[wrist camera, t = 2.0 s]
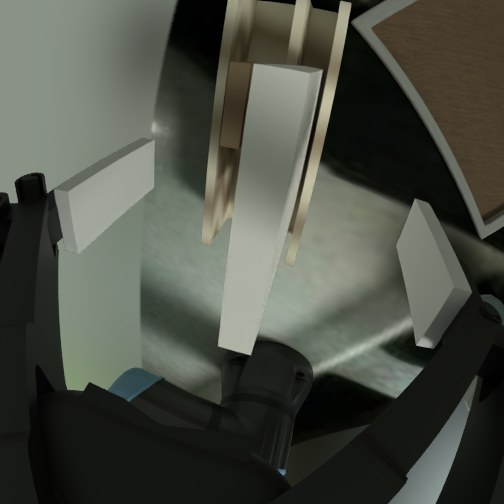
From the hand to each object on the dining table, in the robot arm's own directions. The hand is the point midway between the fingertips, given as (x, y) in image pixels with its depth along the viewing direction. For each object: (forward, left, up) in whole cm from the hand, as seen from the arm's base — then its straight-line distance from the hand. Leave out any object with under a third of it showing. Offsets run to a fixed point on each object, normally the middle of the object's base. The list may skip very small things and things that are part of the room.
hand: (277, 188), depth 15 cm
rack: (0, +3, -18) cm, 18 cm away
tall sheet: (0, 0, -17) cm, 17 cm away
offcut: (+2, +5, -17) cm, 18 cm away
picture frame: (+9, -20, -19) cm, 29 cm away
